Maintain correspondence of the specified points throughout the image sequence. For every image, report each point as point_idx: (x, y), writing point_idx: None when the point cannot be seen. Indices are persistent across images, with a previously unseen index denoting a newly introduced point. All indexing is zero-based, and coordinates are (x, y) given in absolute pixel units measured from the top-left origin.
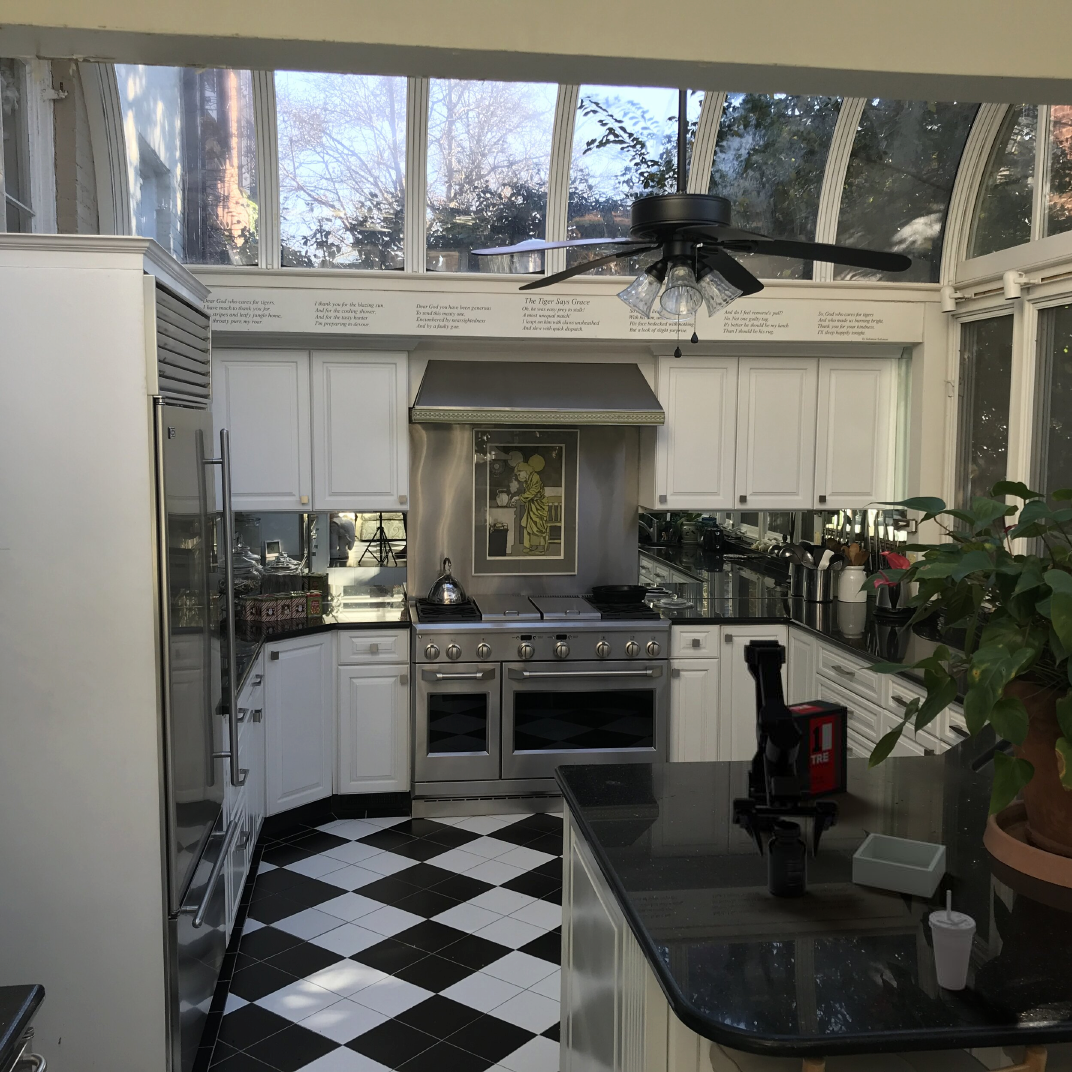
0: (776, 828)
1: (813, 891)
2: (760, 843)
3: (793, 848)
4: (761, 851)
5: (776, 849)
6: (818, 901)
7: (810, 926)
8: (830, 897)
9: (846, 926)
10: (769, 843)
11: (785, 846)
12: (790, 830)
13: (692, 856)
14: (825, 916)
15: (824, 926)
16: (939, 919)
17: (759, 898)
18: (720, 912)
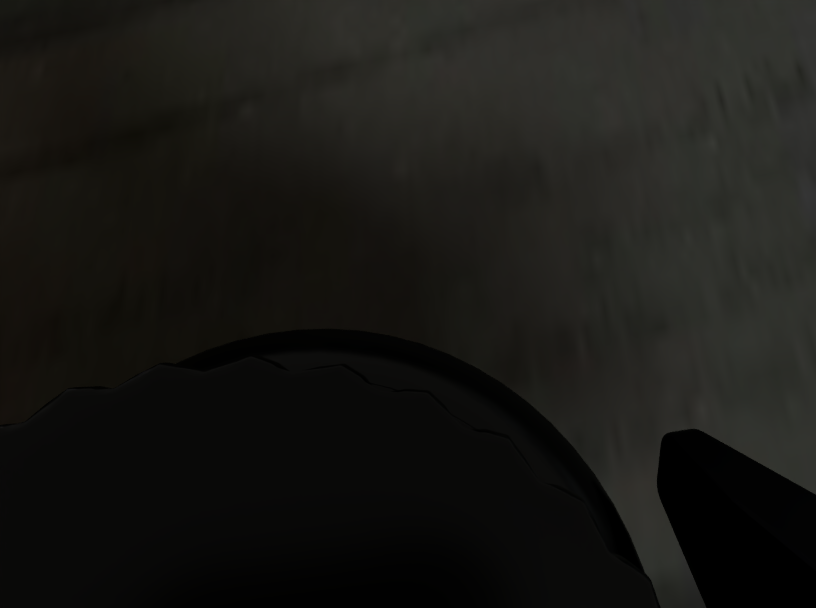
0: (588, 509)
1: None
2: (797, 517)
3: (197, 368)
4: (708, 444)
5: (487, 375)
6: None
7: (222, 40)
8: None
9: (5, 84)
10: (637, 566)
11: (333, 358)
12: (113, 395)
13: None
14: (115, 186)
15: (139, 57)
16: None
17: (560, 363)
18: (769, 98)
